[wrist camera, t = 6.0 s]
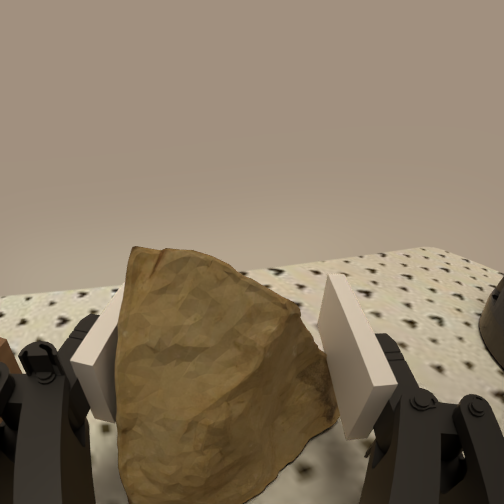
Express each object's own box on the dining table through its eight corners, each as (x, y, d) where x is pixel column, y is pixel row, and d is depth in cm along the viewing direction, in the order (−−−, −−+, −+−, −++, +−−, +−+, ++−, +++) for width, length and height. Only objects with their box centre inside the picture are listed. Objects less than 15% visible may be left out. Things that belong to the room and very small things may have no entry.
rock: (327, 330, 17) (151, 310, 16) (424, 265, 10) (130, 217, 8) (323, 508, 12) (133, 505, 10) (427, 553, 5) (93, 584, 3)
